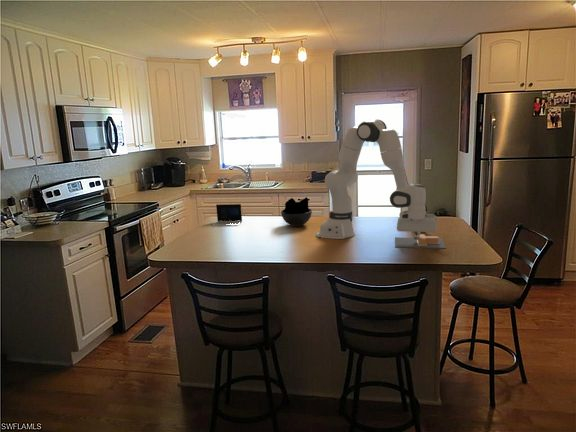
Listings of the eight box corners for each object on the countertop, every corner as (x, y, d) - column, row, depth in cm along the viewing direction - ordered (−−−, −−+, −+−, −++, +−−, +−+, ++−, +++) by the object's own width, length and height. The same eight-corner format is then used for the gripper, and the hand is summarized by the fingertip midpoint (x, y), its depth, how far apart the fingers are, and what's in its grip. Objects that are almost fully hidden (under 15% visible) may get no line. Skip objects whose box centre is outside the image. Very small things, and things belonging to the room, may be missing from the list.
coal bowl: (276, 228, 272) (275, 200, 267) (288, 221, 289) (287, 194, 285) (306, 230, 264) (305, 200, 260) (316, 223, 282) (315, 195, 278)
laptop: (211, 226, 287) (210, 208, 284) (217, 222, 299) (216, 204, 296) (237, 226, 284) (235, 207, 281) (242, 222, 296) (240, 204, 293)
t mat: (395, 247, 220) (395, 246, 220) (394, 238, 237) (394, 237, 237) (446, 248, 215) (446, 247, 214) (441, 239, 232) (441, 238, 232)
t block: (419, 245, 221) (419, 239, 220) (417, 239, 231) (417, 234, 231) (439, 245, 218) (439, 240, 218) (437, 239, 229) (437, 234, 228)
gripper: (436, 213, 223) (435, 238, 226) (396, 212, 228) (396, 237, 231) (438, 215, 217) (437, 241, 220) (397, 215, 222) (396, 240, 225)
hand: (415, 239), depth 226 cm, fingers closed
